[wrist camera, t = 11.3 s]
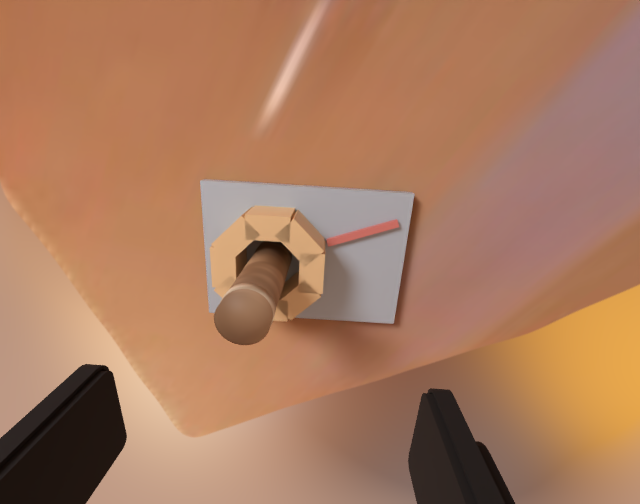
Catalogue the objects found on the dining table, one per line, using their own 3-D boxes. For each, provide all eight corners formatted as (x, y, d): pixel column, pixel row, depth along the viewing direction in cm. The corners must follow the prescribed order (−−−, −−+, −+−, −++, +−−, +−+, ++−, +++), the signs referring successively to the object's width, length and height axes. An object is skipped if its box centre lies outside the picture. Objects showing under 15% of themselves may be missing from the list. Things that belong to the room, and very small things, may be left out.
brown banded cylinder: (293, 239, 30) (270, 297, 19) (292, 273, 31) (270, 347, 20) (255, 237, 30) (211, 293, 19) (256, 271, 32) (214, 343, 20)
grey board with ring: (411, 192, 30) (428, 201, 25) (391, 317, 34) (402, 346, 29) (204, 179, 30) (180, 186, 25) (213, 306, 34) (194, 334, 29)
